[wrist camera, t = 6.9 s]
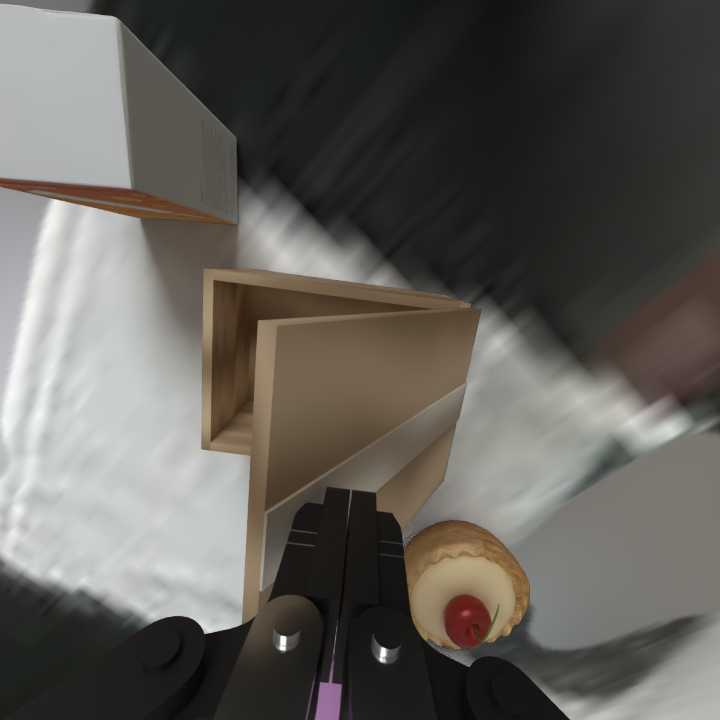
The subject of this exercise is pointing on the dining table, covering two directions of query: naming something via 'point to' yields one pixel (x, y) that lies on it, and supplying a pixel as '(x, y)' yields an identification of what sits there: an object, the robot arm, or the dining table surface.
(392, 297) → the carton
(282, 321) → the lid
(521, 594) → the pastry
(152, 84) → the small box
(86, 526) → the dining table surface
